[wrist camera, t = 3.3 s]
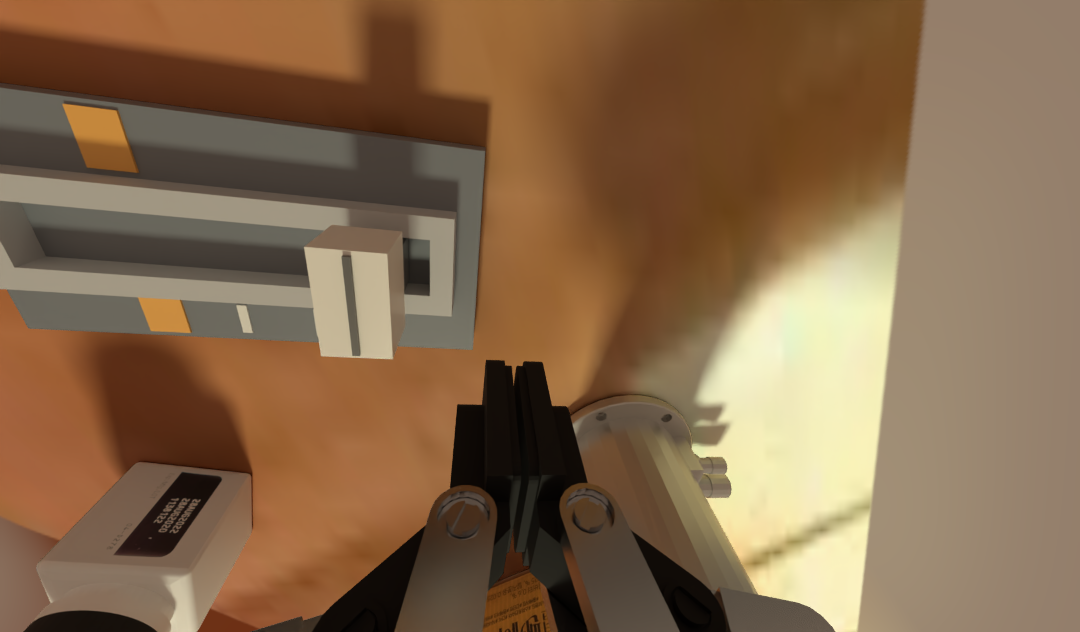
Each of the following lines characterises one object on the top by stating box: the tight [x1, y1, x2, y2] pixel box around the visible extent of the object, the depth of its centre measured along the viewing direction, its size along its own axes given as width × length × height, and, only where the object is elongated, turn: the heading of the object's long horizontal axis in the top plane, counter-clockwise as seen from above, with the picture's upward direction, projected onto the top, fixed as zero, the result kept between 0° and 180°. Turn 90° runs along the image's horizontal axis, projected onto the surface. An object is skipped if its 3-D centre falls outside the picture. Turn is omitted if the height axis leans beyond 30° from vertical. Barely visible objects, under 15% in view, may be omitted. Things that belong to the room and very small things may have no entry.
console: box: [0, 83, 485, 350], centre depth 21 cm, size 24×12×4 cm, turn 82°
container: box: [24, 462, 252, 632], centre depth 26 cm, size 8×8×13 cm
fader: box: [304, 225, 409, 359], centre depth 19 cm, size 3×5×6 cm, turn 172°
